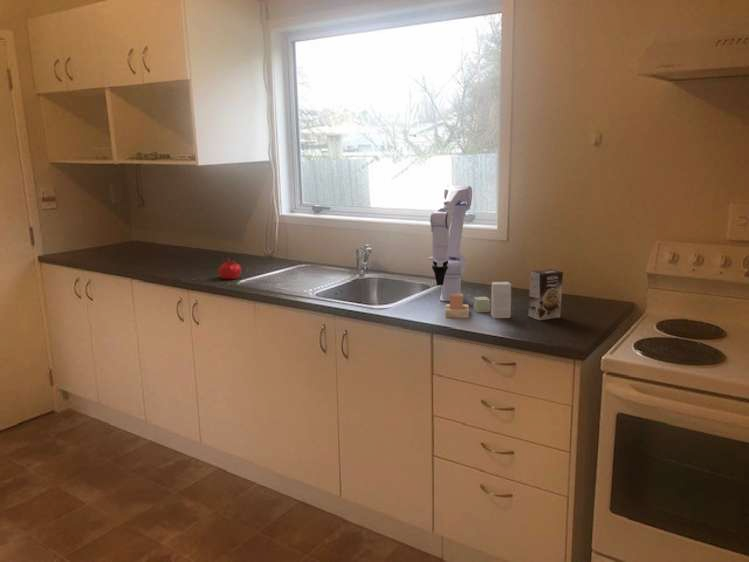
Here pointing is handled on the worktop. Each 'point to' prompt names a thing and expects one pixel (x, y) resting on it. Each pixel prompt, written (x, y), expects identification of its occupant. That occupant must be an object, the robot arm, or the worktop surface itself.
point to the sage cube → (481, 304)
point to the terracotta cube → (456, 300)
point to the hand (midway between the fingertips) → (440, 282)
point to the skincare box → (501, 300)
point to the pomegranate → (230, 270)
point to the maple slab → (457, 312)
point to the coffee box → (545, 294)
